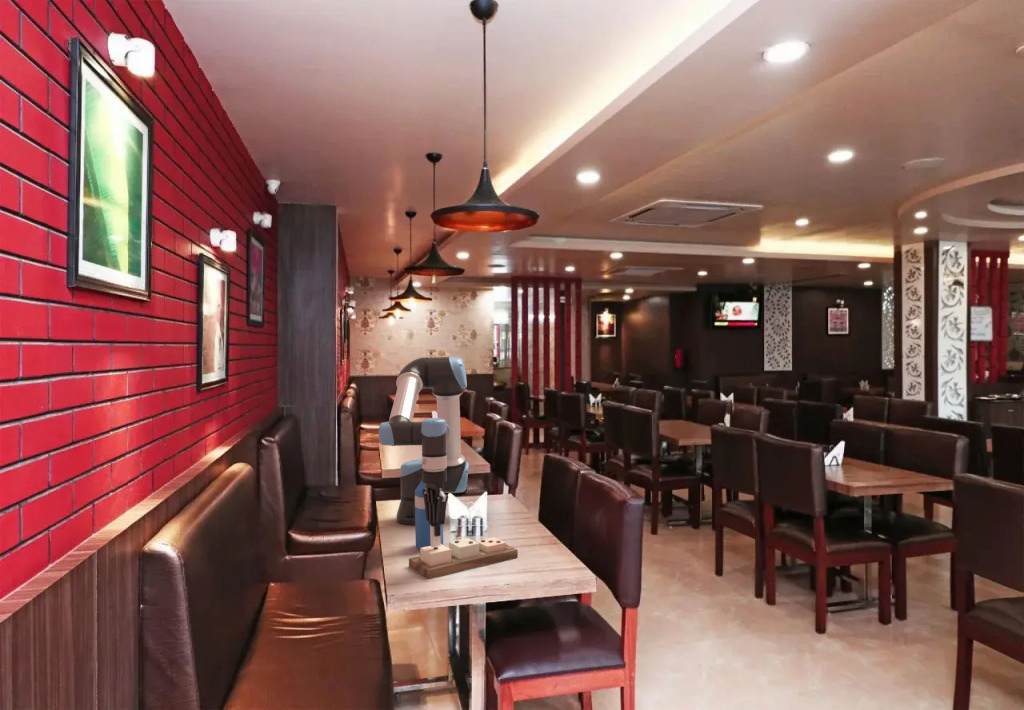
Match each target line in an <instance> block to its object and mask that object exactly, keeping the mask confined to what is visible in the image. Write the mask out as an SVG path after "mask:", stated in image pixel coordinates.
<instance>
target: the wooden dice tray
mask: <svg viewBox="0 0 1024 710" xmlns="http://www.w3.org/2000/svg"><path fill="white" fill-rule="evenodd" d="M518 557H519V555H518V549H517V548H514V547H513V546H511V545H508V544H506V549H505V550H500V551H496V552H492V553H485V552H483V551H481V550H479V556H474V557H470V558H466V559H461V560H459V559H457V558H455V557H453V556H451V562H448V563H444V564H440V565H435V566H431V567H430V566H428V565H427V564H425V563H423V562H422V561H421V559H420V555H419V556H414V557H409V558H408V567H409V568H411V569H412V570H413V571H415V572H416V573H418V574H420V575H421V576H423V577H425V578H426V579H428V580H429V579H434V578H438V577H442V576H446V575H450V574H454V573H459V572H463V571H465V570H466V571H467V570H470V569H475V568H478V567H479V568H480V567H484V566H488V565H492V564H495V563H500V562H504V561H507V560H508V561H509V560H512V559H515V558H518ZM483 565H484V566H483Z"/></svg>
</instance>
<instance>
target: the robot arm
mask: <svg viewBox="0 0 1024 710" xmlns="http://www.w3.org/2000/svg"><path fill="white" fill-rule="evenodd" d="M395 383H396V388H397V389H396V393H395V396H394V400H393V404H392V408H391V412H390V416H389V418H388V419H389V420H388V421H384V422H381V423H380V425H379V428H378V441H379V443H380V445H382V446H389V447H399V446H402V447H403V446H421V458H417V459H411V460H408V461H405V462H404V463H402V464H401V466H400V469H399V471H400V472H399V478H400V479H399V481H400V502H399V506H398V507H397V508H398V509H397V512H396V515H395V516H396V523H399V524H401V525H409V526H415V489H416V488H417V487H418V485H419V484H420V482H421V481H423V483H425V484H426V488H425V489H422V493H423V496H424V504H425V513H426V520H427V521H429V524H430V540H431V547H437V546H441V533H440V526H441V525H442V524H443V525H445V522H446V521H445V520H446V513H447V505H448V499H449V495H448V494H450V493H451V494H456V493H464V492H465V491H466V490H467V485H468V478H469V477H468V476H469V468H470V463H469V462H468V461H466V457H465V456H464V455H463V454H462V445H461V444H462V440H461V439H462V438H461V437H462V436H461V413H460V412H461V411H460V410H461V407H460V403H461V402H460V396H462V395H463V393H464V389H466V388H468V387H467V386H468V383H467V371H466V367H465V363H464V360H463V358H461V357H455V356H454V357H452V356H441V357H438V356H437V357H419V358H415V359H413V360H412V361H410V362H408V364H406V365H404V366H403V368H402V369H401V370H400V372H399V373H398V375H397V378H396V381H395ZM423 389H427V390H428V389H429V390H430V389H431V394H432V396H434V397H435V398H436V416H437V417H433V418H425V419H423V420H422V421H413V419H414V415H415V411H416V406H417V402H418V396H419V393H420V392H421V391H422V390H423ZM447 493H448V494H447Z"/></svg>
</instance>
